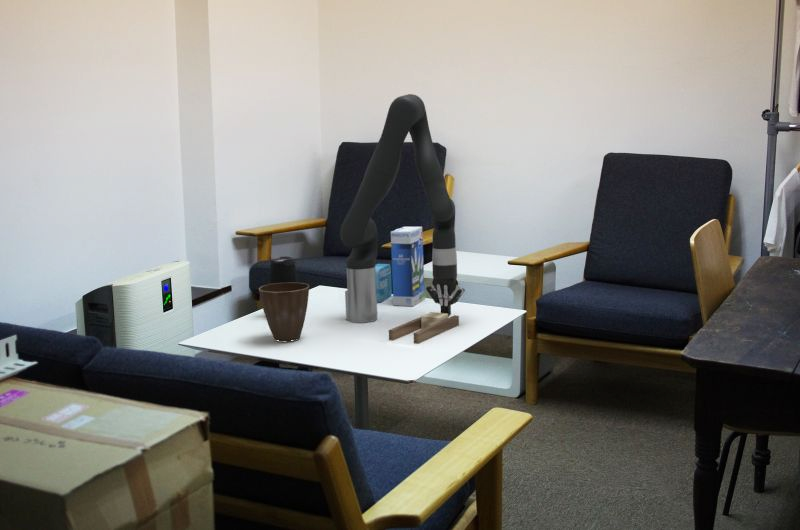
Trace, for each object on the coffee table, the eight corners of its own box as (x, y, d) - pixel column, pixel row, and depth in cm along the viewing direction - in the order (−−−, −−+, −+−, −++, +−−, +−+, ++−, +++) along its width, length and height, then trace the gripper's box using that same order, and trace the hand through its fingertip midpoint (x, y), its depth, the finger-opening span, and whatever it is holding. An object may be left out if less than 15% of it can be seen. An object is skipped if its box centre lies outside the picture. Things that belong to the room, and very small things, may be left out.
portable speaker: (301, 317, 305) (298, 259, 301) (272, 320, 302) (269, 261, 299) (297, 312, 313) (294, 255, 309) (269, 314, 310) (266, 257, 307)
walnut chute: (389, 342, 270) (388, 330, 270) (430, 324, 290) (430, 312, 289) (418, 345, 265) (418, 333, 264) (459, 327, 285) (458, 315, 284)
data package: (379, 303, 322) (378, 269, 320) (367, 302, 324) (366, 269, 322) (392, 296, 333) (391, 263, 331) (380, 295, 335) (379, 262, 333)
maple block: (421, 328, 281) (421, 316, 281) (431, 324, 286) (431, 311, 286) (438, 330, 278) (438, 318, 278) (448, 326, 283) (448, 313, 283)
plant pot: (256, 336, 282) (253, 285, 279) (303, 330, 288) (300, 280, 285) (269, 348, 268) (266, 294, 265) (318, 341, 274) (315, 288, 271)
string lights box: (412, 306, 315) (410, 231, 310) (391, 306, 317) (389, 231, 313) (425, 298, 327) (423, 226, 322) (405, 297, 330) (402, 225, 325)
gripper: (419, 262, 285) (421, 317, 288) (457, 265, 278) (459, 321, 281) (431, 258, 291) (433, 312, 294) (469, 261, 284) (470, 316, 287)
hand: (446, 317), depth 288 cm, fingers closed
